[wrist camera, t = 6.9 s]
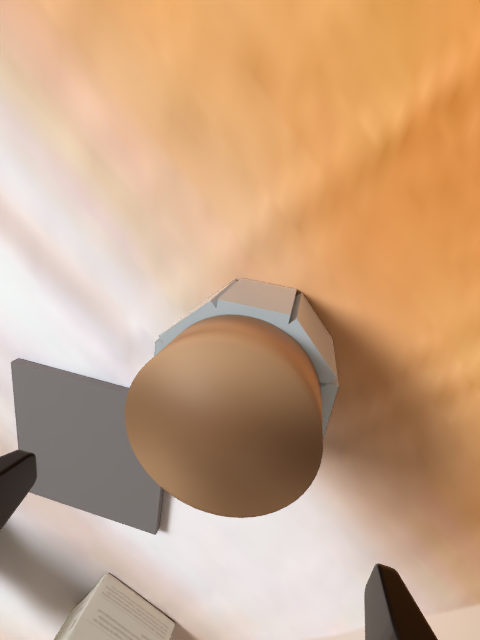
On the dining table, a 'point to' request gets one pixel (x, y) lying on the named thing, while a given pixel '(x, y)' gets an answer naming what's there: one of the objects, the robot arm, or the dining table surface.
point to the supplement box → (115, 616)
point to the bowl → (280, 311)
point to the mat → (83, 445)
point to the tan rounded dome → (229, 417)
